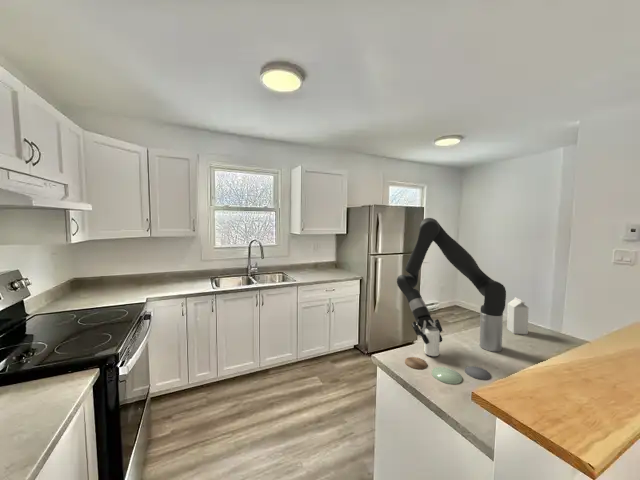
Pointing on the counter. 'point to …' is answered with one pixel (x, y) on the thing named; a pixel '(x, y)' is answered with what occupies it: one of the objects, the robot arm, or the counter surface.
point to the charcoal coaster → (477, 372)
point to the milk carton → (517, 317)
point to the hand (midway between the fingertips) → (434, 342)
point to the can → (432, 341)
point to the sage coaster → (446, 375)
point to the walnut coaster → (415, 363)
